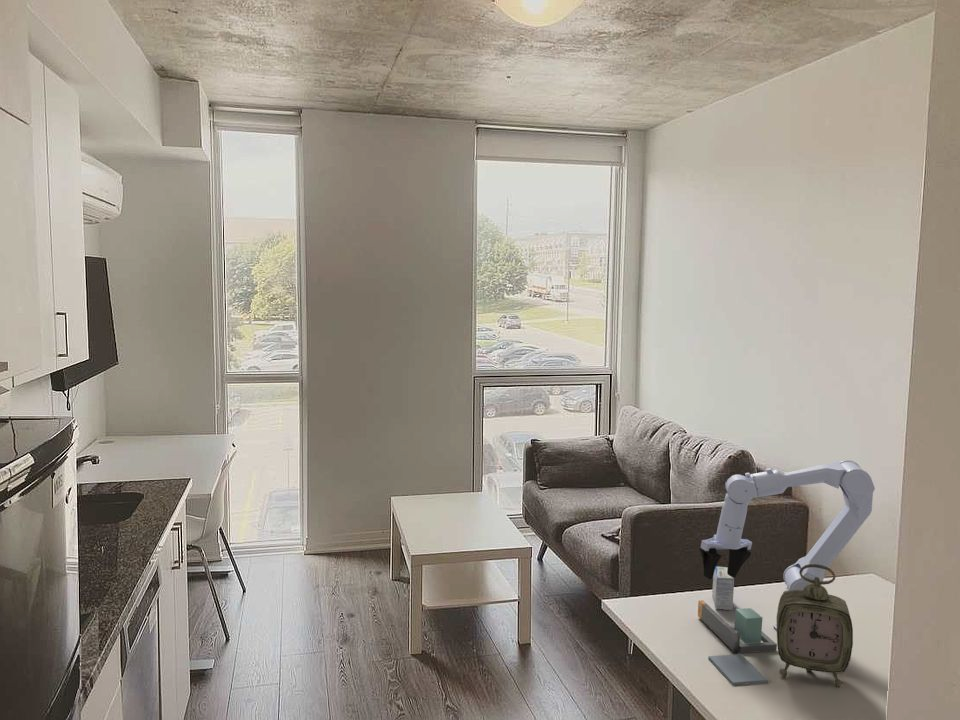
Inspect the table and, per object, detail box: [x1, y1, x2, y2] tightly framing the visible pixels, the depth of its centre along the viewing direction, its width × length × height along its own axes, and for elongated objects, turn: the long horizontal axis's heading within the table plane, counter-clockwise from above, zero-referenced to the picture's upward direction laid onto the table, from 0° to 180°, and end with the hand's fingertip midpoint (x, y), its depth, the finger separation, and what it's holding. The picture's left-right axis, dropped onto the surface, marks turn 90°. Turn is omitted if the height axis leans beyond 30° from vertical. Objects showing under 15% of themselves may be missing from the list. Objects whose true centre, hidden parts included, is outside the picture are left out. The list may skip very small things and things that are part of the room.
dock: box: [730, 625, 778, 654], centre depth 177 cm, size 9×10×2 cm
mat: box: [707, 653, 769, 686], centre depth 164 cm, size 8×11×1 cm
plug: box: [734, 607, 764, 644], centre depth 177 cm, size 5×6×7 cm
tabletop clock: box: [776, 564, 854, 688], centre depth 161 cm, size 14×9×25 cm, turn 70°
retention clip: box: [697, 600, 740, 654], centre depth 180 cm, size 1×19×5 cm, turn 10°
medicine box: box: [711, 566, 735, 611], centre depth 197 cm, size 8×4×9 cm, turn 168°
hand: (719, 576), depth 184 cm, fingers open, 7 cm apart
